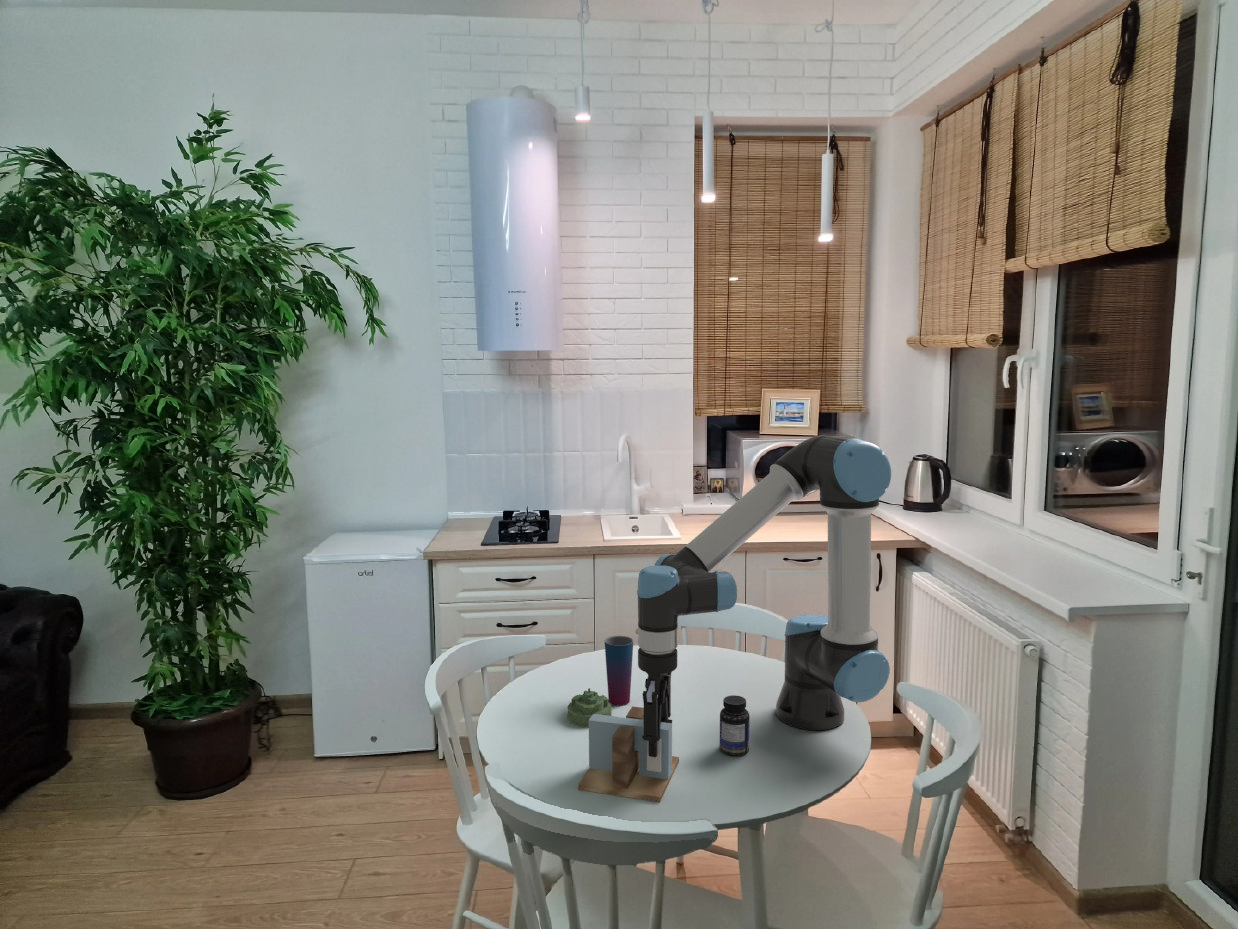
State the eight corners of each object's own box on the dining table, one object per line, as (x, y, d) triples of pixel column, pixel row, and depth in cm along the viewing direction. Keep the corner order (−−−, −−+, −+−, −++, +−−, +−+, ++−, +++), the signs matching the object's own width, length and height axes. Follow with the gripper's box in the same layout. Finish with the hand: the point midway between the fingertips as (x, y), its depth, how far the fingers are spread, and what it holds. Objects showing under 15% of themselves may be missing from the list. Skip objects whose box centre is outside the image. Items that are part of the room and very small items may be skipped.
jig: (678, 761, 169) (679, 709, 168) (660, 802, 154) (660, 745, 152) (603, 751, 174) (603, 700, 172) (578, 789, 158) (577, 734, 157)
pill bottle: (729, 740, 178) (730, 691, 177) (754, 749, 174) (755, 698, 173) (713, 751, 173) (714, 700, 172) (739, 760, 170) (739, 708, 168)
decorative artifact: (617, 723, 187) (603, 706, 196) (617, 693, 186) (602, 677, 195) (575, 730, 184) (562, 712, 193) (574, 700, 183) (561, 683, 192)
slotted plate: (671, 772, 163) (672, 723, 161) (668, 779, 160) (668, 730, 159) (593, 761, 167) (593, 713, 166) (589, 768, 164) (588, 720, 163)
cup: (630, 708, 194) (630, 646, 192) (602, 706, 196) (601, 644, 194) (635, 696, 201) (635, 636, 199) (608, 694, 202) (607, 634, 200)
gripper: (650, 631, 168) (650, 741, 171) (625, 662, 151) (626, 783, 154) (686, 634, 166) (686, 745, 169) (666, 666, 149) (665, 789, 152)
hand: (657, 763), depth 162 cm, fingers open, 5 cm apart
